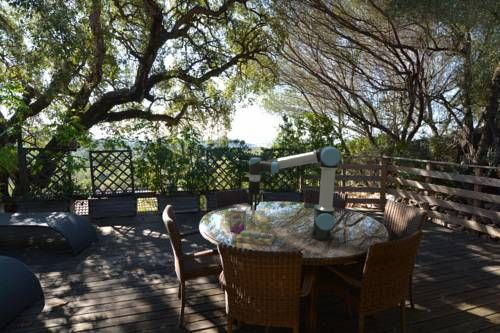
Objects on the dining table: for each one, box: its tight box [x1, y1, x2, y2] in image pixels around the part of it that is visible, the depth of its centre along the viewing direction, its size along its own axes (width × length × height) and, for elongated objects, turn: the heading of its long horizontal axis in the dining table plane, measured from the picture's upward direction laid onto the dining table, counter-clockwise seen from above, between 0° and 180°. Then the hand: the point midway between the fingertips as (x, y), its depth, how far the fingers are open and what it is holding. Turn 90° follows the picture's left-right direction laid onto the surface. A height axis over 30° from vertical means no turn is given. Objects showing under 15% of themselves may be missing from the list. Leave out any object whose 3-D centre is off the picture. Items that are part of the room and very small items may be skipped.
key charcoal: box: [261, 235, 271, 239], centre depth 211 cm, size 5×5×3 cm
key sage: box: [241, 230, 252, 237], centre depth 215 cm, size 5×5×3 cm
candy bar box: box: [229, 208, 247, 234], centre depth 231 cm, size 11×5×16 cm, turn 70°
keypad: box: [235, 231, 276, 246], centre depth 213 cm, size 24×14×3 cm, turn 75°
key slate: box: [251, 230, 262, 238], centre depth 213 cm, size 5×5×3 cm
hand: (253, 214), depth 212 cm, fingers closed
